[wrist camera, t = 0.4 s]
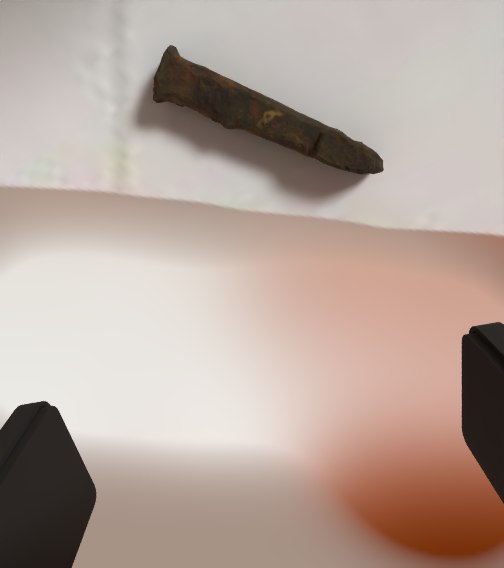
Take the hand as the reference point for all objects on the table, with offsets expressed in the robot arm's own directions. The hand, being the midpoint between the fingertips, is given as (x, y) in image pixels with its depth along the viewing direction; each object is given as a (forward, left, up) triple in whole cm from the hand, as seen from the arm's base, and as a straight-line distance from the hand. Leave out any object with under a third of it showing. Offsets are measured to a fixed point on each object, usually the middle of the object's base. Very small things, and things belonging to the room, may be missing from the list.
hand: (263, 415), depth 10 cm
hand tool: (-5, +2, -30) cm, 31 cm away
